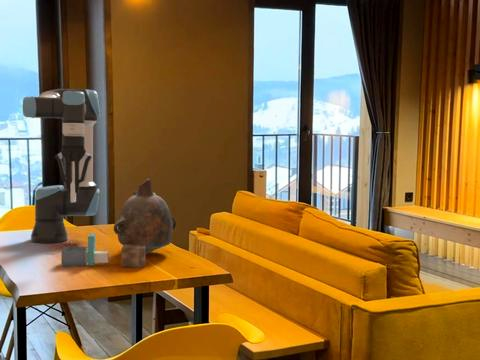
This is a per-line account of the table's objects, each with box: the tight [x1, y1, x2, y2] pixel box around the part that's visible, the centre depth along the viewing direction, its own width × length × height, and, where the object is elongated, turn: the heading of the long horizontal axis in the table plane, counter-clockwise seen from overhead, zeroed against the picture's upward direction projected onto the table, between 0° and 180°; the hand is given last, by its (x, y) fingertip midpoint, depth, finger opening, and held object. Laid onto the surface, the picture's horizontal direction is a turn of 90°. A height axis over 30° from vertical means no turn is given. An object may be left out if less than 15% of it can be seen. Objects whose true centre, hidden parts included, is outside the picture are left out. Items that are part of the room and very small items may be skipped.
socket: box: [121, 244, 146, 269], centre depth 231 cm, size 8×8×7 cm
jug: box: [113, 178, 176, 255], centre depth 249 cm, size 24×21×30 cm
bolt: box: [85, 233, 110, 266], centre depth 229 cm, size 16×5×10 cm, turn 96°
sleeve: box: [60, 246, 88, 268], centre depth 229 cm, size 8×7×6 cm
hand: (73, 201), depth 227 cm, fingers closed
